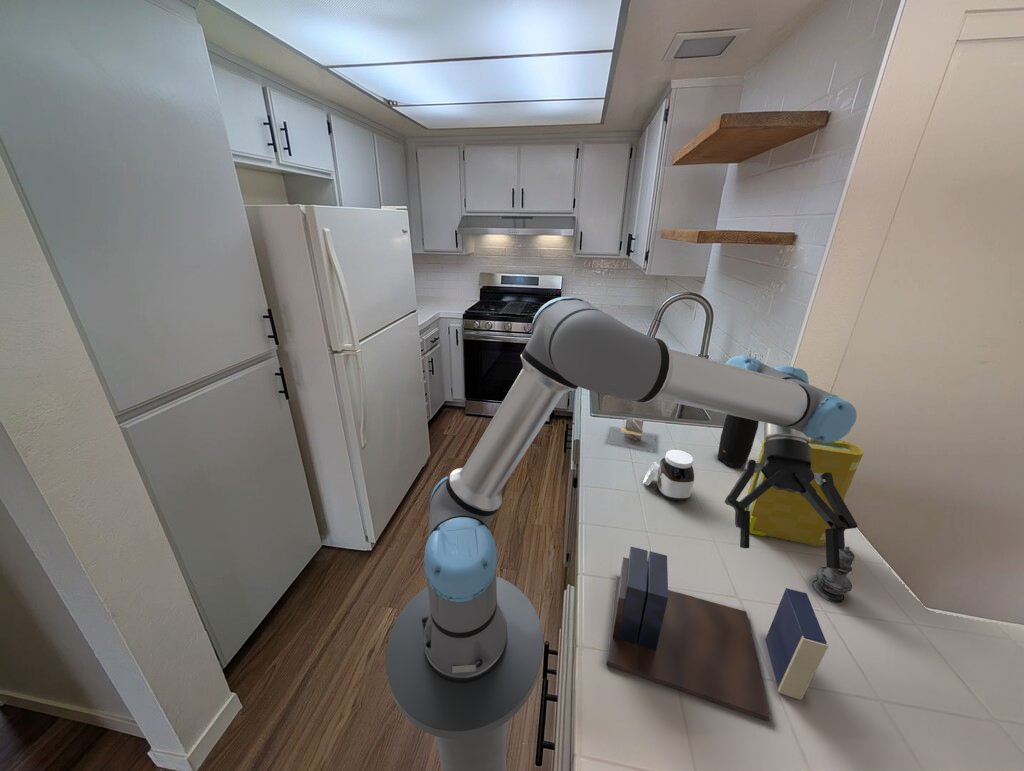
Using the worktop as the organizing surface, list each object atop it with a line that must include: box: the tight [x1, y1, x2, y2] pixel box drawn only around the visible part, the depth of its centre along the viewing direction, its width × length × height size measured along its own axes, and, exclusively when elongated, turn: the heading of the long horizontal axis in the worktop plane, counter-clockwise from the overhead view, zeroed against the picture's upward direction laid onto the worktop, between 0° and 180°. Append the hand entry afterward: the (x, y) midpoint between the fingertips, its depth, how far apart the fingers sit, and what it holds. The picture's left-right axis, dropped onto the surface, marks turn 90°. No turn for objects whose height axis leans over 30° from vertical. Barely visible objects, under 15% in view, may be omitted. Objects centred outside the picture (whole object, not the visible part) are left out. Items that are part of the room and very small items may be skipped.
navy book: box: [764, 587, 829, 701], centre depth 62 cm, size 3×9×13 cm, turn 161°
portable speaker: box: [717, 414, 760, 469], centre depth 116 cm, size 9×9×20 cm
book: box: [745, 438, 865, 547], centre depth 88 cm, size 17×7×25 cm, turn 72°
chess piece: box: [811, 546, 856, 604], centre depth 76 cm, size 6×6×12 cm
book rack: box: [605, 546, 771, 722], centre depth 66 cm, size 24×18×14 cm
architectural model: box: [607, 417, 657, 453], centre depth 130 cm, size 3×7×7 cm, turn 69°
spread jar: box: [642, 449, 695, 501], centre depth 105 cm, size 12×11×12 cm
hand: (787, 557), depth 68 cm, fingers open, 13 cm apart
